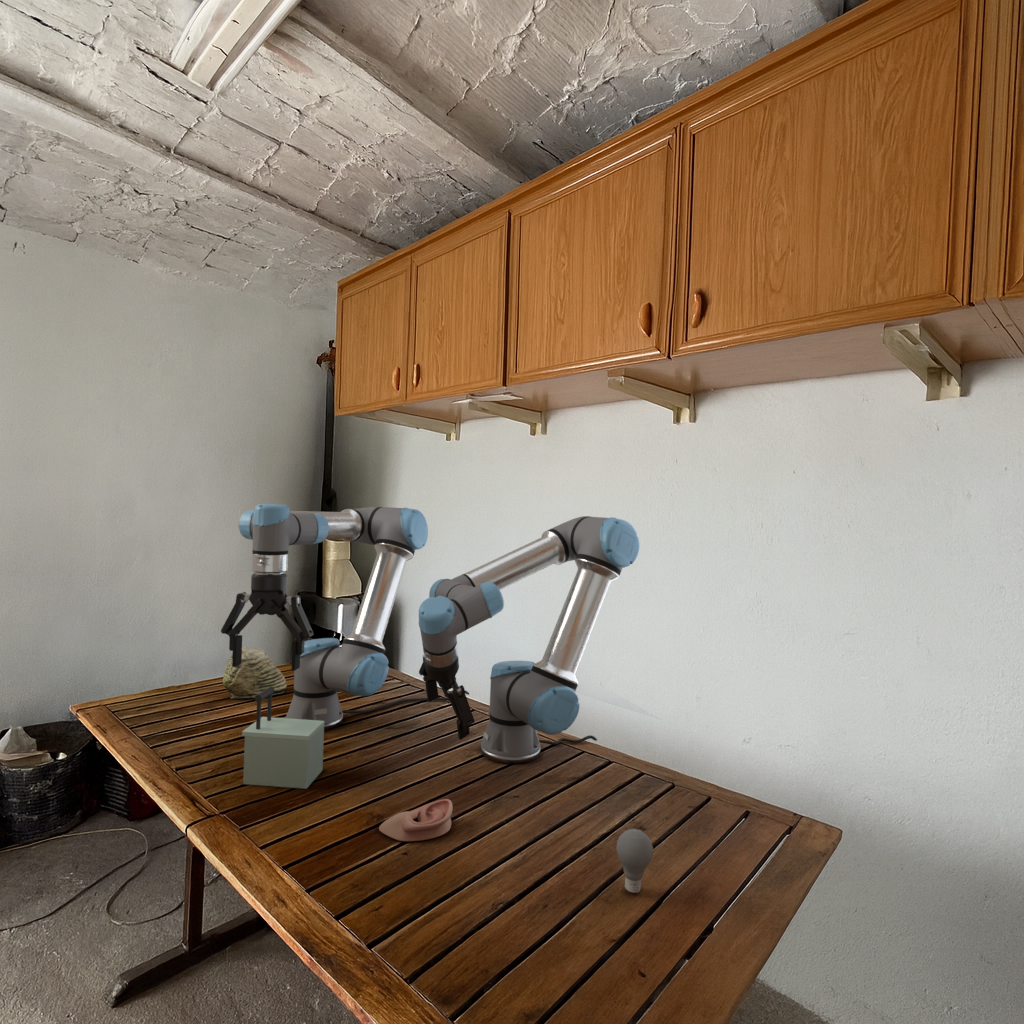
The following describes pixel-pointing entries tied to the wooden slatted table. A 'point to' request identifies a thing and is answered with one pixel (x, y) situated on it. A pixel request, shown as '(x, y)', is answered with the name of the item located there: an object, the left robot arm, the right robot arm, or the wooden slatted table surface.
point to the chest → (283, 761)
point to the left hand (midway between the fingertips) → (266, 667)
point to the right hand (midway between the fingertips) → (448, 717)
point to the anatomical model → (420, 822)
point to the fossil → (253, 675)
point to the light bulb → (634, 857)
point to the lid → (280, 723)
